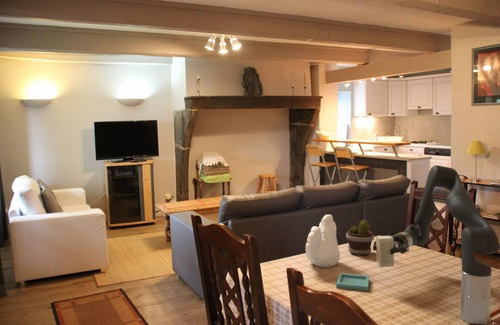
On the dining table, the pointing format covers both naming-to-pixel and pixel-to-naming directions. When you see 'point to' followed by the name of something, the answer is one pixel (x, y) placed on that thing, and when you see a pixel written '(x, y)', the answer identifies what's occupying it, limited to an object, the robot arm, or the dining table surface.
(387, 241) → the skincare box
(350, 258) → the dining table surface
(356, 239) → the flowerpot
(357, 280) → the teal tray
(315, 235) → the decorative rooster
